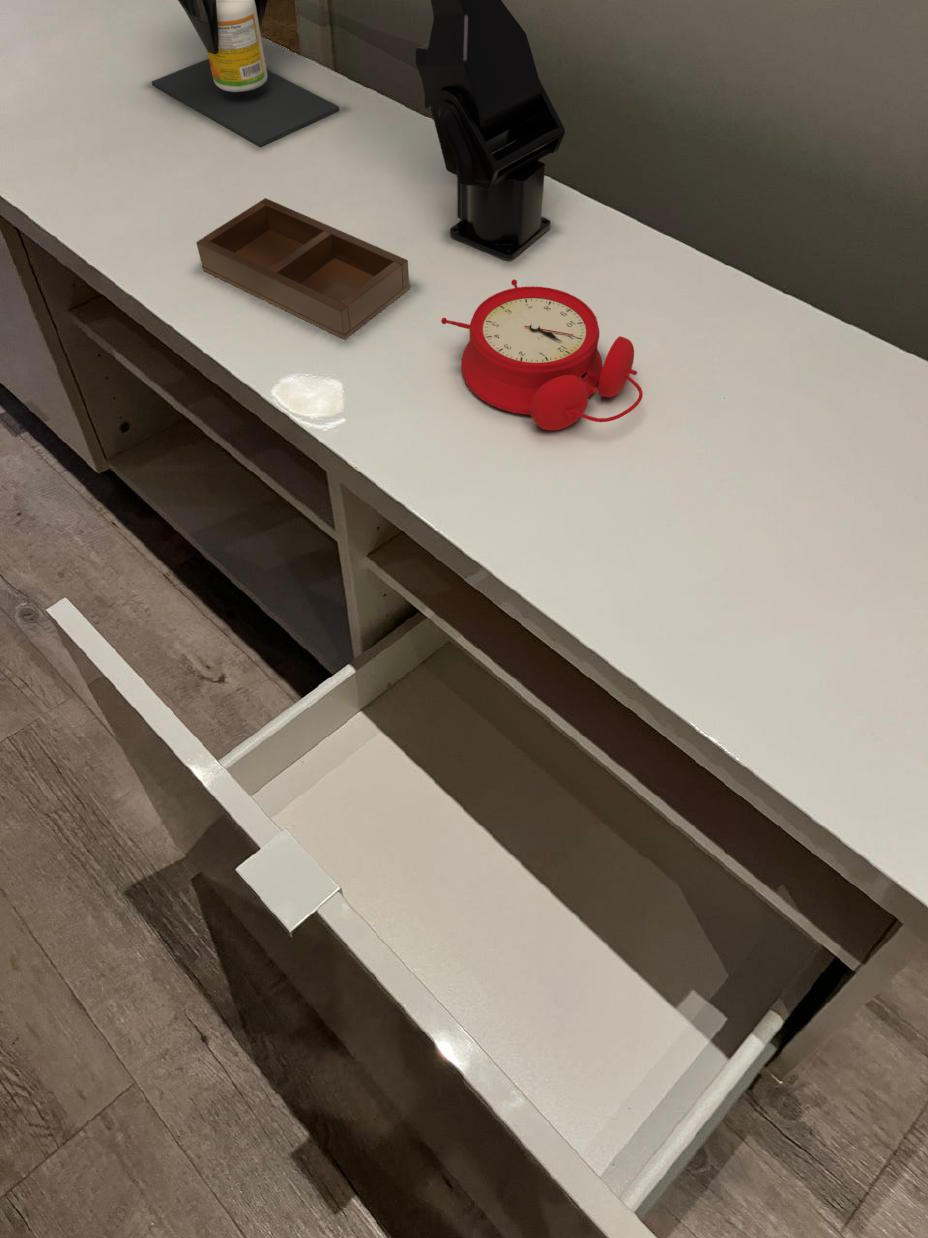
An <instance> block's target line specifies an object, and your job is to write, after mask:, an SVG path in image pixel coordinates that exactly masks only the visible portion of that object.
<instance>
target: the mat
mask: <svg viewBox="0 0 928 1238" xmlns="http://www.w3.org/2000/svg"><path fill="white" fill-rule="evenodd" d="M151 85H152V86H153V87H155V88H156V89H158V90H160V91H162V92H164V93H165V94H167V95H169V96H171V97H172V98H173V99H176V100H177V101H179V102H181V103H182V104H184V105H186V106H188V107H190V108H191V109H193V110H194V111H196V112H198V113H200V114H201V115H203V116H205V117H207V118H208V119H210V120H211V121H214V122H216V123H218V124H219V125H221V126H223V127H225V128H226V129H228V130H230V131H232V132H233V133H235V134H236V135H239V136H240V137H242V138H244V139H246V140H247V141H249V142H251V143H253V144H254V145H256V146H257V147H260V148H261V147H263V146H266V145H267V144H271V143H272V142H274V141H276V140H278V139H280V138H281V139H282V138H284V137H285V136H287V135H290V134H292V133H294V132H297V131H298V130H300V129H302V128H305V127H307V126H309V125H311V124H313V123H315V122H317V121H320V120H322V119H324V118H326V117H328V116H331V115H333V114H335V113H337V112H339V111H340V106H338V105H336V104H335V103H333V102H331V101H329V100H328V99H325V98H323V97H321V96H319V95H317V94H316V93H313V92H311V91H310V90H308V89H306V88H304V87H302V86H300V85H297V84H296V83H294V82H292V81H291V80H288V79H286V78H284V77H282V76H280V75H279V74H277V73H275V72H273V71H271V70H269V69H267V80H266V82H265V83H264V84H263V85H262V86H260V87H258V88H256V89H253V90H250V91H244V92H229V91H225V90H222V89H220V88H219V87H218V86H217V85H216V84H215V82H214V80H213V76H212V71H211V67H210V62H209V58H207V59H204V60H201V61H199V62H197V63H194V64H192V65H189V66H187V67H184V68H181V69H179V70H177V71H174V72H172V73H169V74H167V75H164V76H162V77H159V78H156V79H155V80H152V81H151Z"/></svg>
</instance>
